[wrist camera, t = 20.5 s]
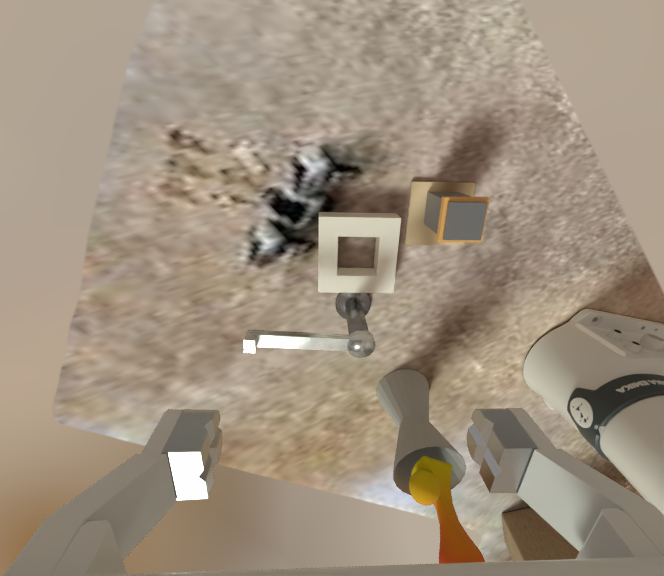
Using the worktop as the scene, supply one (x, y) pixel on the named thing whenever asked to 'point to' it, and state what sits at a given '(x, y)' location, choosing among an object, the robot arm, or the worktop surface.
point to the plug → (456, 216)
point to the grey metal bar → (311, 341)
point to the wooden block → (534, 537)
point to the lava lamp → (426, 460)
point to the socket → (358, 226)
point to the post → (353, 309)
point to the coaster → (416, 210)
